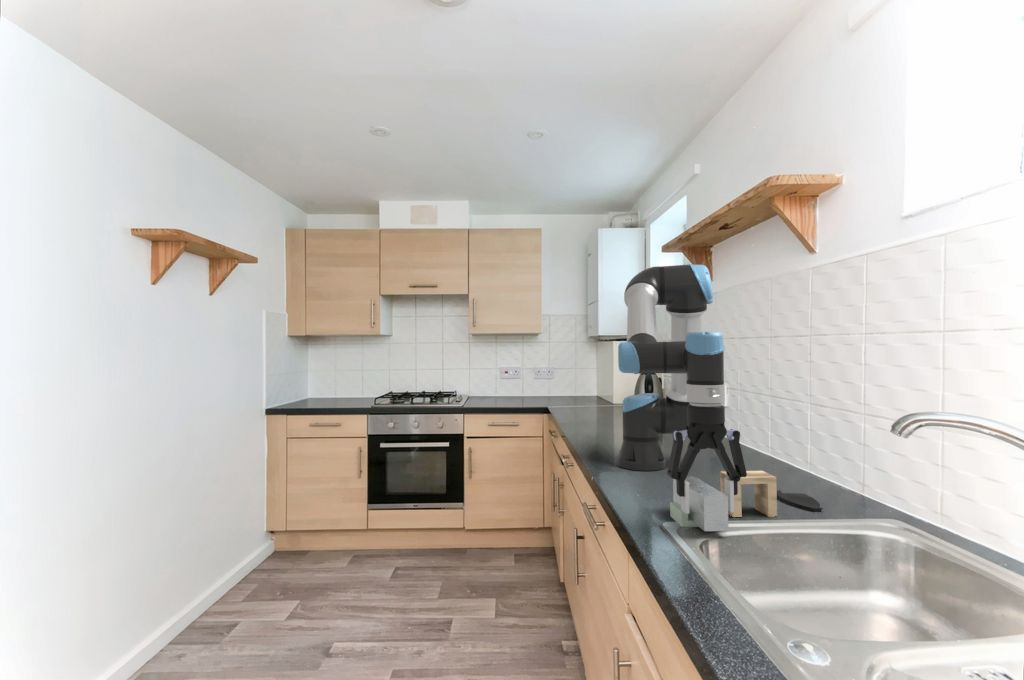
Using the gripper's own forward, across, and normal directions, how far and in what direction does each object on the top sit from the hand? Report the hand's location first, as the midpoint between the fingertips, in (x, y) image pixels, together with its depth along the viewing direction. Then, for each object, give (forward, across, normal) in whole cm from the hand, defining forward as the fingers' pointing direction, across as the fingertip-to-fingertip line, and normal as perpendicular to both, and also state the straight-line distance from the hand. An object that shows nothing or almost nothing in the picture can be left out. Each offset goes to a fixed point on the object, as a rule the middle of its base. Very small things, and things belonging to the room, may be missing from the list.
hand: (707, 510), depth 105 cm
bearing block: (+4, +14, +10) cm, 18 cm away
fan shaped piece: (+5, +30, +17) cm, 35 cm away
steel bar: (+3, 0, +4) cm, 5 cm away
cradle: (+4, 0, +6) cm, 7 cm away
